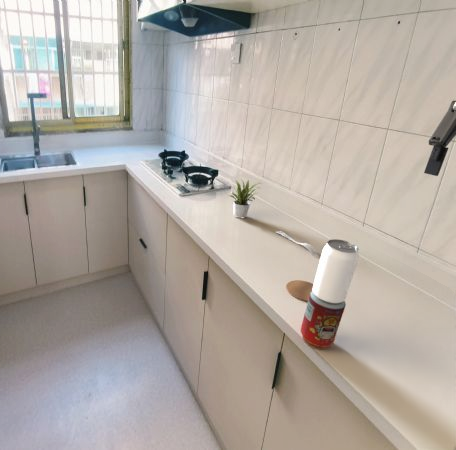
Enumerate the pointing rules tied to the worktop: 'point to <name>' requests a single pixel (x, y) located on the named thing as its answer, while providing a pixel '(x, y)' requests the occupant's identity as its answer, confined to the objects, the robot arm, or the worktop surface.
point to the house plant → (242, 199)
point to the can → (335, 271)
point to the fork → (299, 243)
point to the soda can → (321, 322)
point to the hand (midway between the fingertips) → (447, 172)
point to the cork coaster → (299, 289)
